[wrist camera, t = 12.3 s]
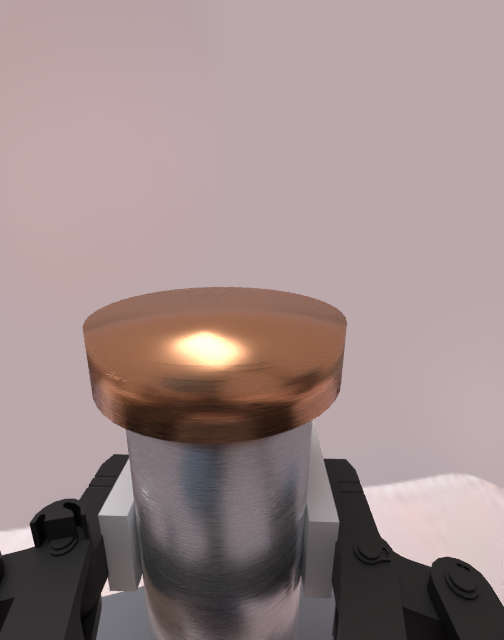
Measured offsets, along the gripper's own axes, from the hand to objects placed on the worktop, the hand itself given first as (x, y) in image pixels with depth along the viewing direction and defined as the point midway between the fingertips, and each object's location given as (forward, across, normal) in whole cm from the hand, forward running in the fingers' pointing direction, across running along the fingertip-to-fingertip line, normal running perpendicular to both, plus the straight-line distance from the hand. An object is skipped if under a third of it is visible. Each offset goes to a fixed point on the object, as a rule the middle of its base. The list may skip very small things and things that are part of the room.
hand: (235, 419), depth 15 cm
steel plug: (-5, 0, -10) cm, 11 cm away
